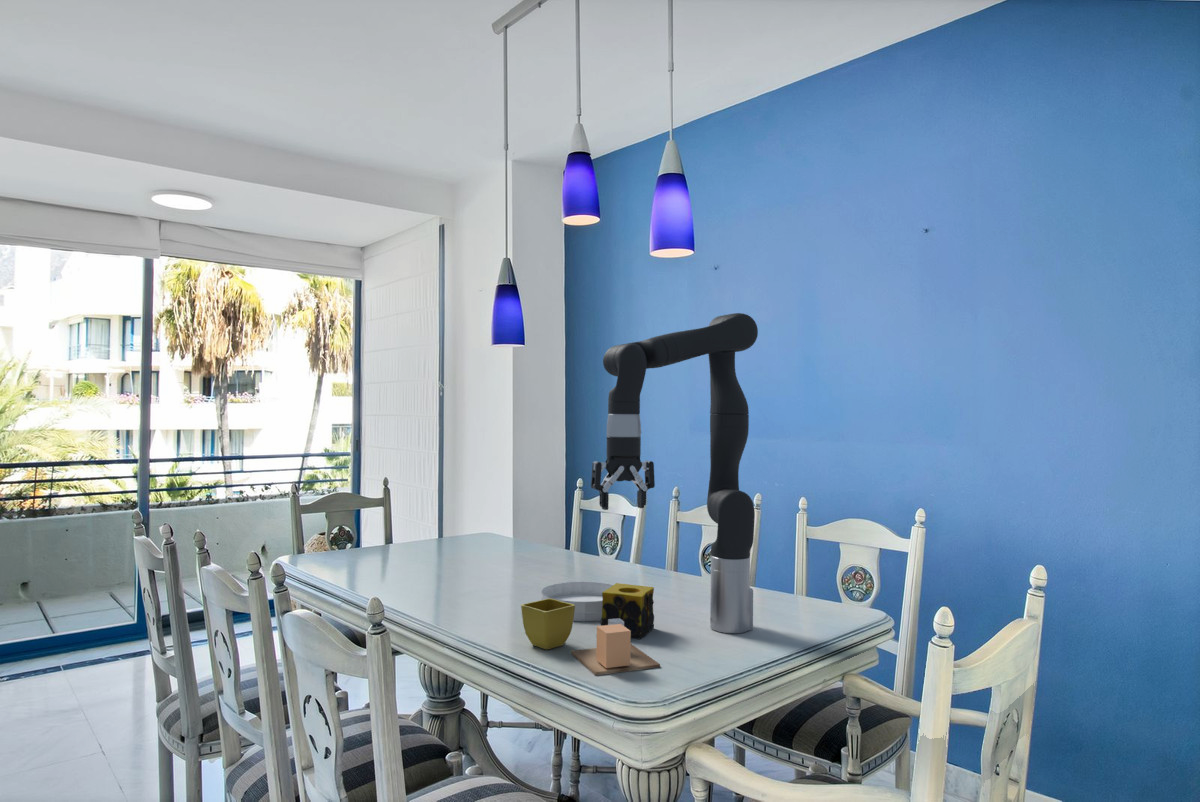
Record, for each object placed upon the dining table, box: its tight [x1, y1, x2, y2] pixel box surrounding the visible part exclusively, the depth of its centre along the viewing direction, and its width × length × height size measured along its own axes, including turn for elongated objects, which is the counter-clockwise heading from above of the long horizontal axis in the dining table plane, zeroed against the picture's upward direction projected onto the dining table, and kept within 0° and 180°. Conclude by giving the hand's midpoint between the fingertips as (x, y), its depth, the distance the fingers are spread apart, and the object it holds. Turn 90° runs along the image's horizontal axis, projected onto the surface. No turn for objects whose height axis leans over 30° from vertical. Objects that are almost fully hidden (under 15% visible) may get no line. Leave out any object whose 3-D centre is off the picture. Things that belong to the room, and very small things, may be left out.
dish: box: [540, 581, 614, 622], centre depth 194 cm, size 22×22×5 cm
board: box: [570, 643, 661, 676], centre depth 154 cm, size 14×14×1 cm
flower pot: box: [520, 598, 575, 650], centre depth 163 cm, size 9×9×9 cm
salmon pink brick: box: [596, 624, 632, 668], centre depth 149 cm, size 5×5×7 cm
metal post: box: [608, 618, 624, 626], centre depth 158 cm, size 3×3×6 cm
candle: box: [600, 582, 655, 640], centre depth 175 cm, size 10×10×10 cm
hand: (622, 508), depth 164 cm, fingers open, 8 cm apart
